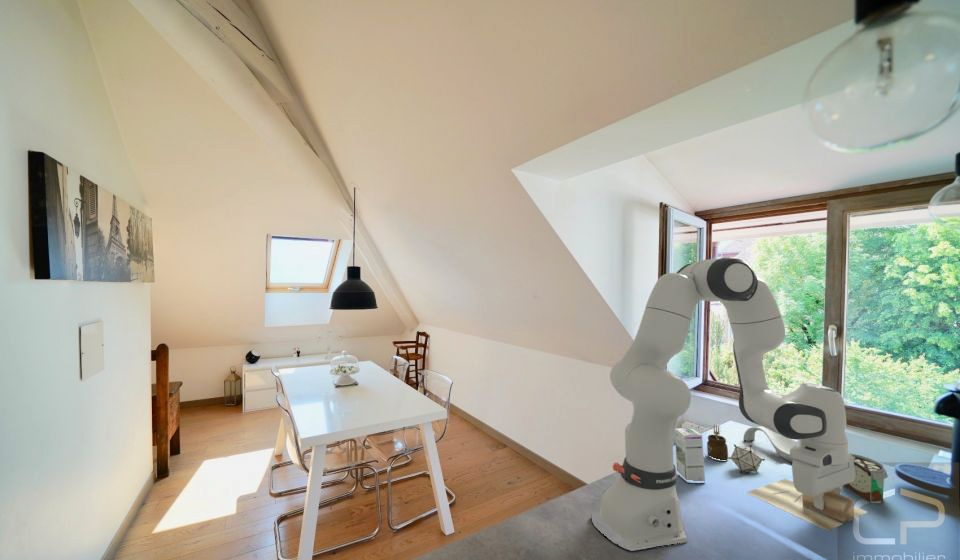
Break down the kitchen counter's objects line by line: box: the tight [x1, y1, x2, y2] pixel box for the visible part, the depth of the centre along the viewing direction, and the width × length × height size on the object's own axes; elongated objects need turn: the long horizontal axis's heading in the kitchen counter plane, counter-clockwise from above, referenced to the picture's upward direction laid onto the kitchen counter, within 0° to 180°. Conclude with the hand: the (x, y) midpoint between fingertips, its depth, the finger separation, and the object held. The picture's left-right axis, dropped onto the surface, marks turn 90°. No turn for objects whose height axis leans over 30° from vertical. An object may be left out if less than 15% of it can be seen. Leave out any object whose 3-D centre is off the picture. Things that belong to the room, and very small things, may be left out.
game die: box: [728, 444, 766, 474], centre depth 114 cm, size 9×8×10 cm
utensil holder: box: [706, 424, 729, 461], centre depth 124 cm, size 6×6×12 cm
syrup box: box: [674, 427, 706, 482], centre depth 111 cm, size 6×6×14 cm
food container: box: [843, 452, 889, 504], centre depth 98 cm, size 12×6×10 cm, turn 168°
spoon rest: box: [743, 425, 798, 463], centre depth 127 cm, size 24×12×7 cm, turn 13°
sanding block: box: [802, 491, 855, 525], centre depth 91 cm, size 5×8×4 cm, turn 22°
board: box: [746, 478, 869, 532], centre depth 95 cm, size 18×18×1 cm
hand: (827, 505), depth 91 cm, fingers closed on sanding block, 5 cm apart
